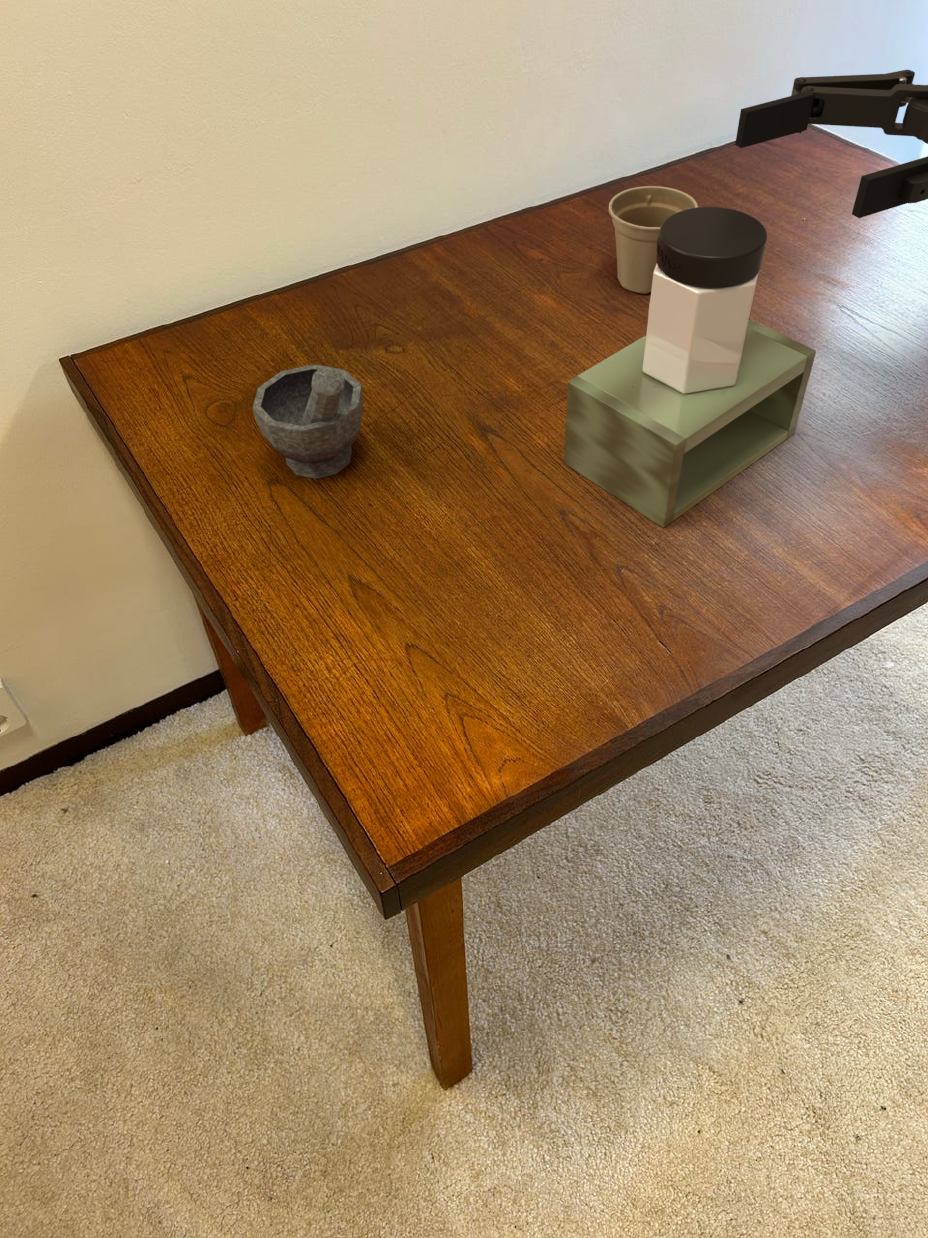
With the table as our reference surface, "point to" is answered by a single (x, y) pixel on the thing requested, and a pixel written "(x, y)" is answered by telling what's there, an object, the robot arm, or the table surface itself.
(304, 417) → the mortar and pestle
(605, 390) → the olive green cubby
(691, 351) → the jar
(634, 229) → the flower pot
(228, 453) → the table surface
